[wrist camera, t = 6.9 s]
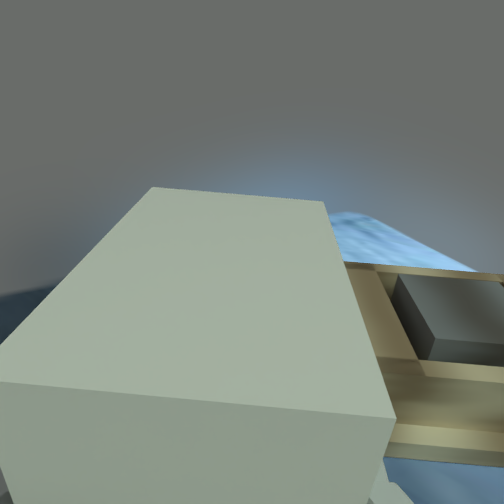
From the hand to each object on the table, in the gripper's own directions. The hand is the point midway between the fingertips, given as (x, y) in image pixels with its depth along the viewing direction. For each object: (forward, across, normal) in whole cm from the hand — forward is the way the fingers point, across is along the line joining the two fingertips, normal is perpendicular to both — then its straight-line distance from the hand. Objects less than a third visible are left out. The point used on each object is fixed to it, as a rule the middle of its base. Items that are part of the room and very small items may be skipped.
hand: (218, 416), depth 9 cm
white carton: (-1, 0, +7) cm, 7 cm away
